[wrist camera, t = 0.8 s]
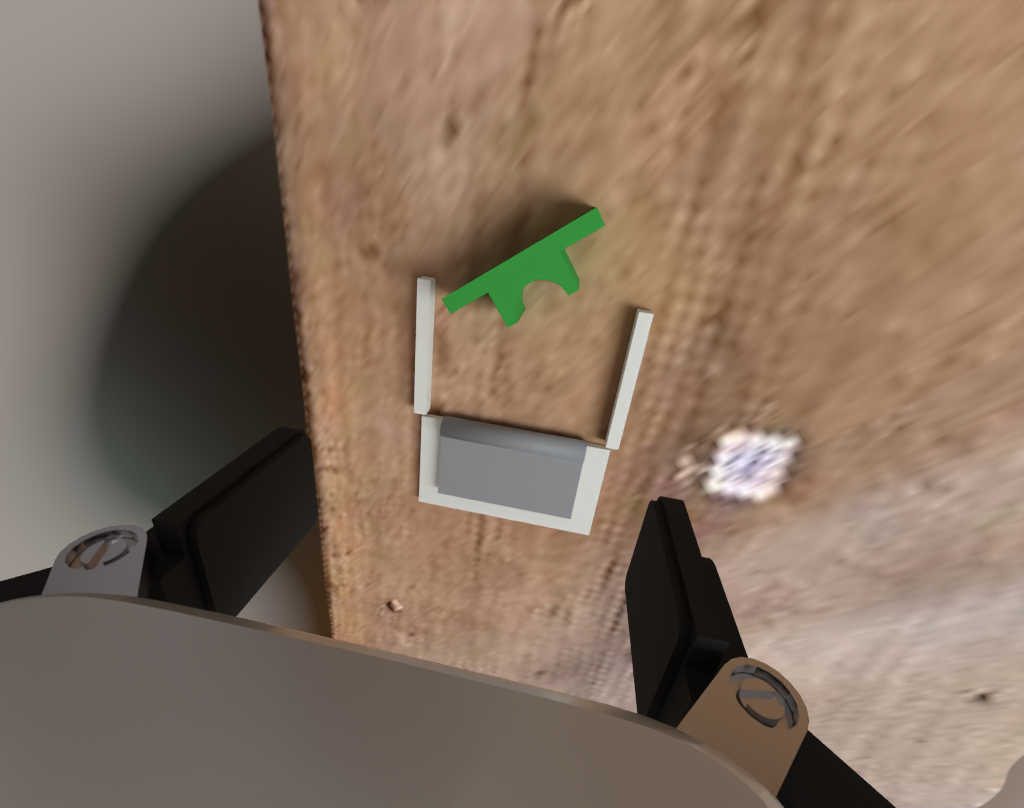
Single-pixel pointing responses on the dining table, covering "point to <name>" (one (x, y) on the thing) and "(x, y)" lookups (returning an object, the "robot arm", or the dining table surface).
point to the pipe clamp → (528, 270)
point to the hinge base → (514, 448)
